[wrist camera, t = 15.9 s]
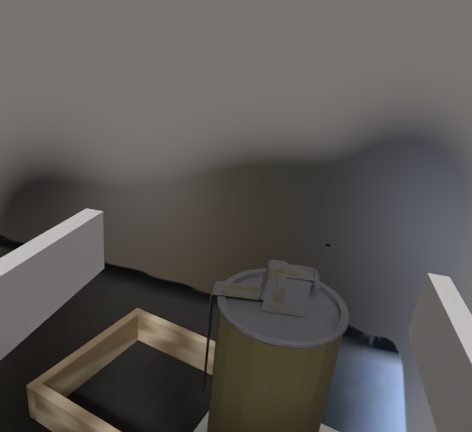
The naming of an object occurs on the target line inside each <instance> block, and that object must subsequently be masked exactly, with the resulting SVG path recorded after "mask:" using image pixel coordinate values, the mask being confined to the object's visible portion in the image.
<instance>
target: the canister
mask: <svg viewBox="0 0 472 432" xmlns="http://www.w3.org/2000/svg"><path fill="white" fill-rule="evenodd" d="M319 277H320V275H318V272H317V270H316V269H315V270H313V268H310V267H306V266H298V265H291V264H287V263H286V261H279V260H270V261H269V262H268V265H267V268H263V269H255V270H248V271H243V272H240V273H238V274H236V275H234V276H232V277H230V278H229V279H227V280H226V281H225V282H221V281H216V282H215V284H214V287H213V290H212V294H211V299H210V310H209V321H208V332H207V344H206V355H205V366H204V377H203V388H202V397H203V392H204V388H205V384H206V374H207V363H208V352H209V341H210V331H211V320H212V309H213V298H214V294H216V295H217V305H218V307H219V310H218V320H217V331H216V341H215V352H214V363H213V373H212V384H211V394H210V405H209V415H208V426H207V432H319V430H320V426H321V422H322V417H323V413H324V409H325V405H326V401H327V396H328V392H329V388H330V384H331V380H332V376H333V371H334V367H335V363H336V359H337V355H338V350H339V346H340V342H341V338H342V334H343V333H344V332H345V331H346V329H347V326H348V322H349V312H348V309H347V306H346V304H345V302H344V301H343V300H342V298H341V297H340V296H339V295H338V294H337V293H336V292H335V291H334V290H332V289H331V288H329V287H327V286H326V285H325V284H323V283H322V282H320V281H319ZM201 401H202V399H201Z"/></svg>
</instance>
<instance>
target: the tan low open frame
mask: <svg viewBox="0 0 472 432" xmlns="http://www.w3.org/2000/svg"><path fill="white" fill-rule="evenodd" d="M137 340H139V341H142V342H144V343H146V344H148V345H150V346H152V347H154V348H156V349H158V350H160V351H163V352H165V353H167V354H169V355H171V356H173V357H175V358H177V359H179V360H181V361H184V362H186V363H188V364H190V365H192V366H194V367H196V368H198V369H200V370H202V371H204V366H205V355H206V344H207V338H205V337H203V336H201V335H198V334H196V333H194V332H192V331H189V330H187V329H185V328H182V327H180V326H178V325H176V324H173V323H171V322H169V321H166V320H164V319H162V318H159V317H157V316H155V315H153V314H150V313H148V312H146V311H143V310H141V309H139V308H136V309H135V310H134V311H132V312H131V313H129V314H128V315H126V316H125V317H124V318H122V319H121V320H119V321H118V322H116V323H115V324H114V325H112V326H111V327H109V328H108V329H106V330H105V331H104V332H102V333H101V334H99V335H98V336H96V337H95V338H94V339H92V340H91V341H89V342H88V343H86V344H85V345H84V346H82V347H81V348H79V349H78V350H77V351H75V352H74V353H72V354H71V355H69V356H68V357H67V358H65V359H64V360H62V361H61V362H59V363H58V364H57V365H55V366H54V367H52V368H51V369H49V370H48V371H47V372H45V373H44V374H42V375H41V376H39V377H38V378H37V379H35V380H34V381H32V382H31V383H29V384H28V385H27V386H26V388H27V396H28V404H29V413H30V417H31V418H33V419H34V420H36V421H37V422H39V423H40V424H42V425H43V426H45V427H46V428H48V429H49V430H51V431H52V432H121V431H119V430H118V429H116V428H114V427H113V426H111V425H109V424H108V423H106V422H105V421H103V420H101V419H100V418H98V417H96V416H95V415H93V414H91V413H90V412H88V411H87V410H85V409H83V408H82V407H80V406H78V405H77V404H75V403H73V402H72V401H70V400H69V399H67V398H66V397H67V396H69V395H70V394H71V393H72V392H74V391H75V390H76V389H77V388H79V387H80V386H81V385H82V384H83V383H85V382H86V381H87V380H88V379H90V378H91V377H92V376H93V375H95V374H96V373H97V372H98V371H100V370H101V369H102V368H103V367H105V366H106V365H107V364H108V363H110V362H111V361H112V360H113V359H115V358H116V357H117V356H118V355H120V354H121V353H122V352H123V351H125V350H126V349H127V348H128V347H130V346H131V345H132V344H133V343H135V342H136V341H137ZM214 352H215V341H212V340H210V341H209V352H208V363H207V373H209V374H211V375H212V373H213V363H214Z"/></svg>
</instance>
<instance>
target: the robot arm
mask: <svg viewBox="0 0 472 432" xmlns="http://www.w3.org/2000/svg"><path fill="white" fill-rule="evenodd" d="M103 234H104V232H103V211H98V210H92V209H88V208H87V209H85V210H83V211H81V212H80V213H78V214H76V215H74V216H72V217H71V218H69V219H68V220H66V221H64V222H62V223H60V224H59V225H57V226H55V227H53V228H52V229H50V230H48V231H46V232H45V233H43V234H41V235H39V236H38V237H36V238H34V239H33V240H31V241H29V242H27V243H26V244H24V245H22V246H20V247H19V248H17V249H15V250H13V251H12V252H10V253H9V252H8V253H5V254H2V255H0V360H1V359H3V358H4V357H5V356H6V355H7V354H8V353H9V352H10V351H12V350H13V349H14V348H15V347H16V346H17V345H18V344H19V343H21V342H22V341H23V340H24V339H25V338H26V337H27V336H28V335H30V334H31V333H32V332H33V331H34V330H35V329H36V328H37V327H39V326H40V325H41V324H42V323H43V322H44V321H45V320H46V319H48V318H49V317H50V316H51V315H52V314H53V313H54V312H55V311H57V310H58V309H59V308H60V307H61V306H62V305H63V304H64V303H66V302H67V301H68V300H69V299H70V298H71V297H72V296H73V295H75V294H76V293H77V292H78V291H79V290H80V289H81V288H83V287H84V286H85V285H86V284H87V283H88V282H89V281H90V280H92V279H93V278H94V277H95V276H96V275H97V274H98V273H99V272H101V271H102V270H103V269H104V235H103ZM408 336H409V339H410V342H411V346H412V349H413V352H414V356H415V359H416V363H417V366H418V369H419V373H420V376H421V379H422V383H423V386H424V389H425V393H426V396H427V399H428V403H429V406H430V409H431V413H432V416H433V419H434V423H435V426H436V430H437V432H472V315H471V313H470V312H469V310H468V308H467V306H466V305H465V303H464V301H463V300H462V298H461V296H460V294H459V293H458V291H457V289H456V287H455V286H454V284H453V283H452V281H451V279H450V277H446V276H441V275H436V274H431V273H427V276H426V279H425V282H424V286H423V288H422V292H421V295H420V298H419V301H418V304H417V307H416V310H415V313H414V316H413V319H412V322H411V325H410V328H409V331H408Z"/></svg>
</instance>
